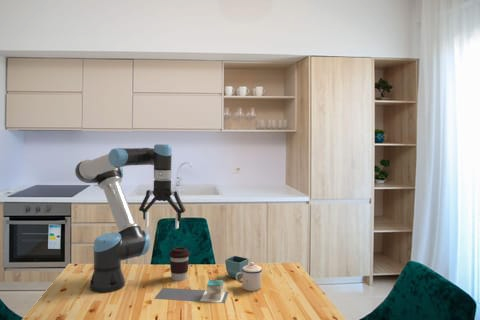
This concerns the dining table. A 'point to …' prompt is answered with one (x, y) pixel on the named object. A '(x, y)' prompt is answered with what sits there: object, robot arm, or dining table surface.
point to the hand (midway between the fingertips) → (162, 227)
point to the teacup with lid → (251, 277)
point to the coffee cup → (179, 263)
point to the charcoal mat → (188, 295)
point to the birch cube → (215, 289)
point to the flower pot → (235, 265)
